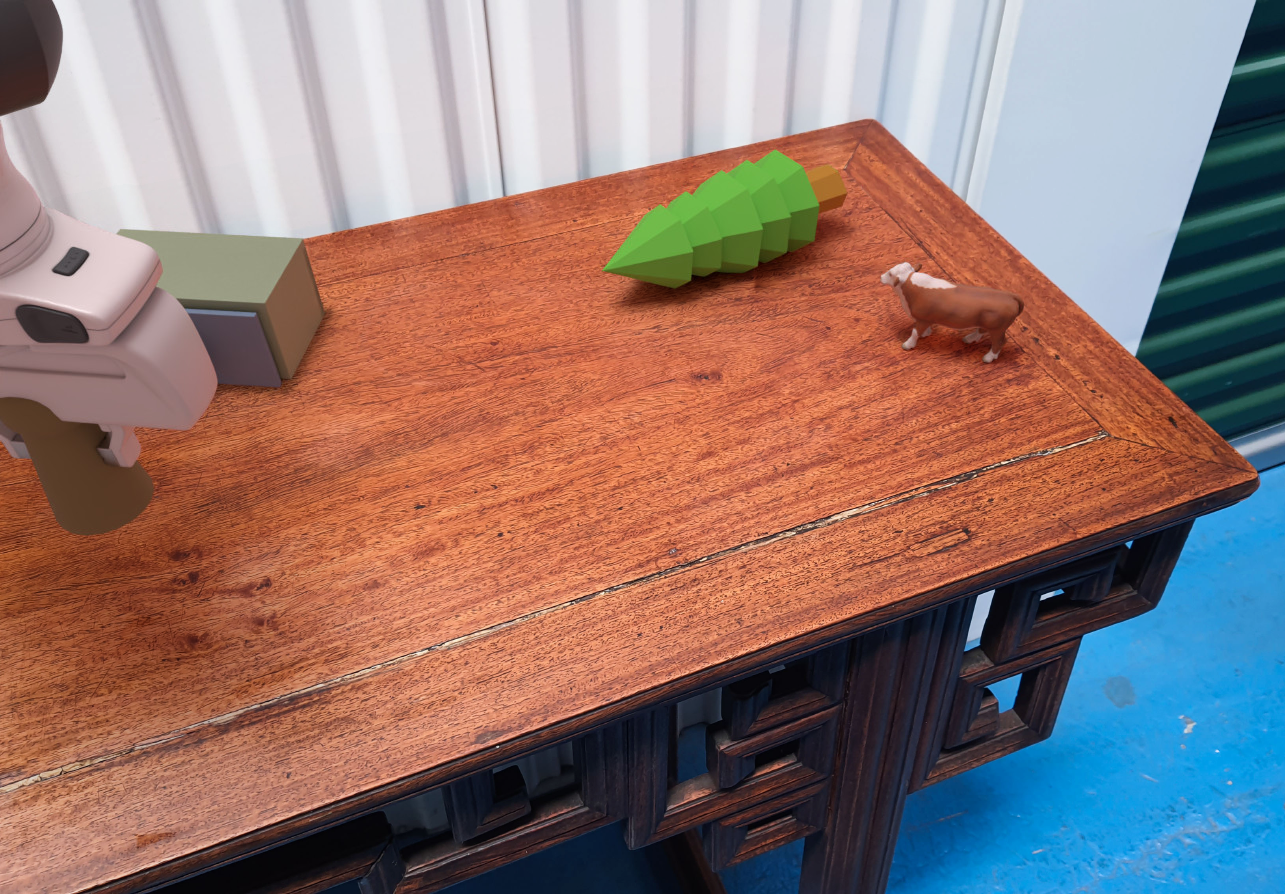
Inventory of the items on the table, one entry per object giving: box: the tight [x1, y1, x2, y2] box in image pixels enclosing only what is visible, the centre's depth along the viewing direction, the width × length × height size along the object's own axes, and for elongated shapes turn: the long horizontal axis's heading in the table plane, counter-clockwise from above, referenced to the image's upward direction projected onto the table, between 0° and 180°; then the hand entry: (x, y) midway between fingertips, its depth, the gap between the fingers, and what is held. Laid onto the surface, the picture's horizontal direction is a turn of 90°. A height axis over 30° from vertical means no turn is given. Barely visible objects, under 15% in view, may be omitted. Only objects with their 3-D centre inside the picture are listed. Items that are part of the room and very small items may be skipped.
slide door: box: [185, 309, 283, 388], centre depth 88 cm, size 9×4×8 cm, turn 84°
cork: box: [0, 397, 155, 537], centre depth 61 cm, size 6×6×11 cm
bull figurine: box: [879, 261, 1025, 364], centre depth 95 cm, size 4×13×8 cm, turn 70°
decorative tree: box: [601, 149, 848, 289], centre depth 103 cm, size 11×12×30 cm
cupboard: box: [116, 228, 326, 380], centre depth 94 cm, size 18×12×10 cm, turn 84°
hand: (79, 455), depth 62 cm, fingers closed on cork, 4 cm apart
